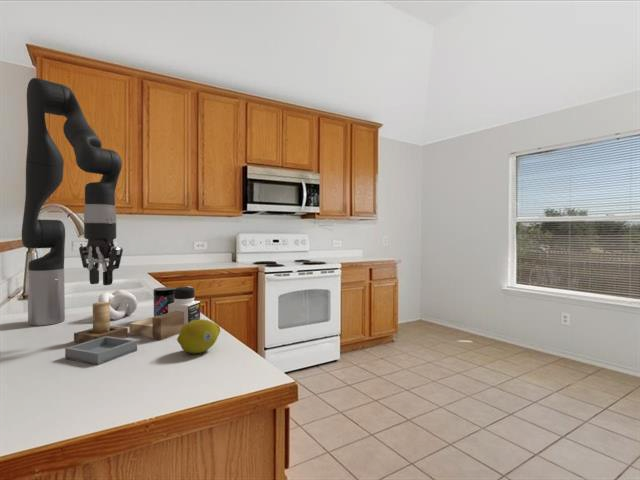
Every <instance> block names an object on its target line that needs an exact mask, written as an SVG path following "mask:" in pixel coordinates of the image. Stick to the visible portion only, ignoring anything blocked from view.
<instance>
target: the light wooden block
mask: <svg viewBox="0 0 640 480" xmlns="http://www.w3.org/2000/svg"><path fill="white" fill-rule="evenodd" d="M153 317H154V316H153ZM153 317H152V316H150V317H147V318H143V319H140V320H136V321H133V322H130V323H128V325H129V329H128V331H129V332H128V335H133V336H141V337H146V338H147V337H148V338H153V327H152V318H153Z"/></svg>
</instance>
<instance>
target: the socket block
mask: <svg viewBox="0 0 640 480" xmlns="http://www.w3.org/2000/svg"><path fill="white" fill-rule="evenodd" d="M128 331H129V329H128V327H122V326H115V325H110V331H109V332H106V333H102V334H94V333H93V327H92V328H88V329H84V330H81V331H77V332H74V333H73V343H74V344H81V343H84V342H88V341H91V340H94V339H98V338H101V337H105V336H110V337H116V338H123V339H127V338H128V337H129V332H128Z"/></svg>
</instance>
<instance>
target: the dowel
mask: <svg viewBox="0 0 640 480" xmlns="http://www.w3.org/2000/svg"><path fill="white" fill-rule="evenodd" d="M110 326H111V318H110V303H109V302H99V301H98V302H95V303H92V328H93V333H94V334H102V333H106V332H109V331H110Z"/></svg>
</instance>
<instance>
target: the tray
mask: <svg viewBox="0 0 640 480" xmlns="http://www.w3.org/2000/svg"><path fill="white" fill-rule="evenodd" d="M64 350H65V351H64V352H65V353H64V354H65V355H64V357H65V358H64V359H65V360H70V361H75V362H80V363H86V364H90V365H95V366H99V365H102V364H105V363H107V362H111V361H113V360H116V359H118V358H120V357H121V358H122V357H123V356H126V355H129V354H131V353H134V352H137V351H138V340H137V339H136V340H135V339H129V338H116V337H110V336H105V337H101V338H98V339H94V340H91V341H88V342H84V343H81V344H80V343H77V344H75V345H71V346H68V347H65V348H64Z"/></svg>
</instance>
